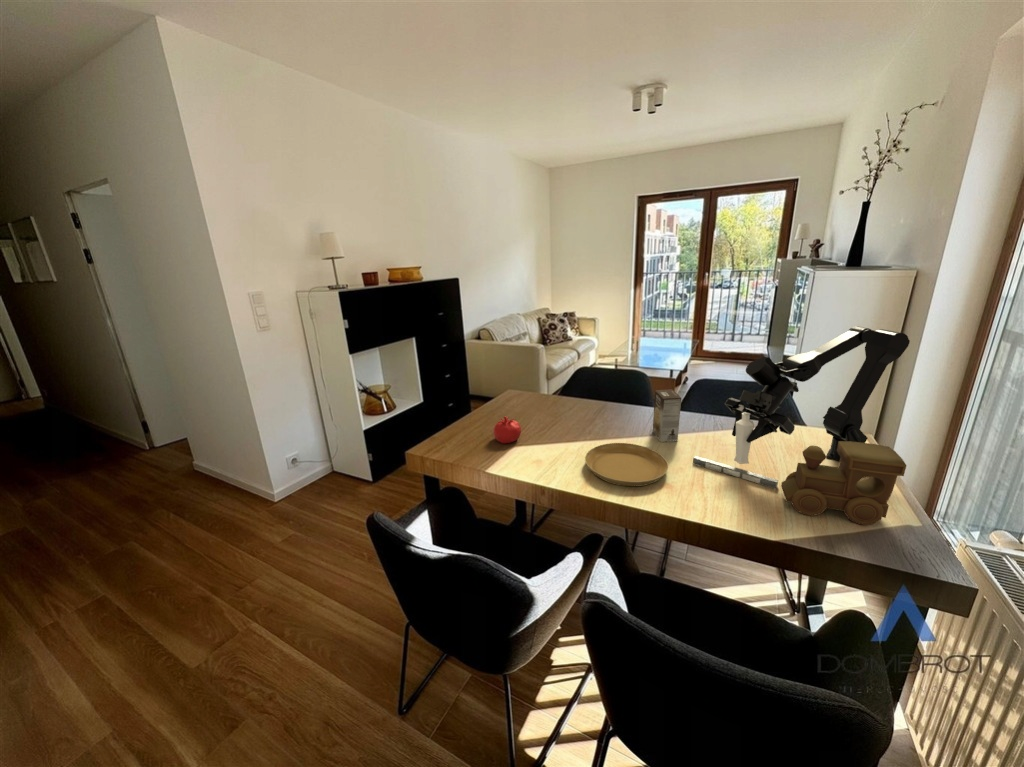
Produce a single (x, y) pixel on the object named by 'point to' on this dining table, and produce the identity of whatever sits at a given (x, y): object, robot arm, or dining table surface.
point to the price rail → (736, 472)
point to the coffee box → (666, 415)
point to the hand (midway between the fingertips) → (740, 438)
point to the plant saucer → (626, 464)
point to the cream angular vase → (743, 438)
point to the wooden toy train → (846, 481)
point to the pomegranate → (507, 430)
